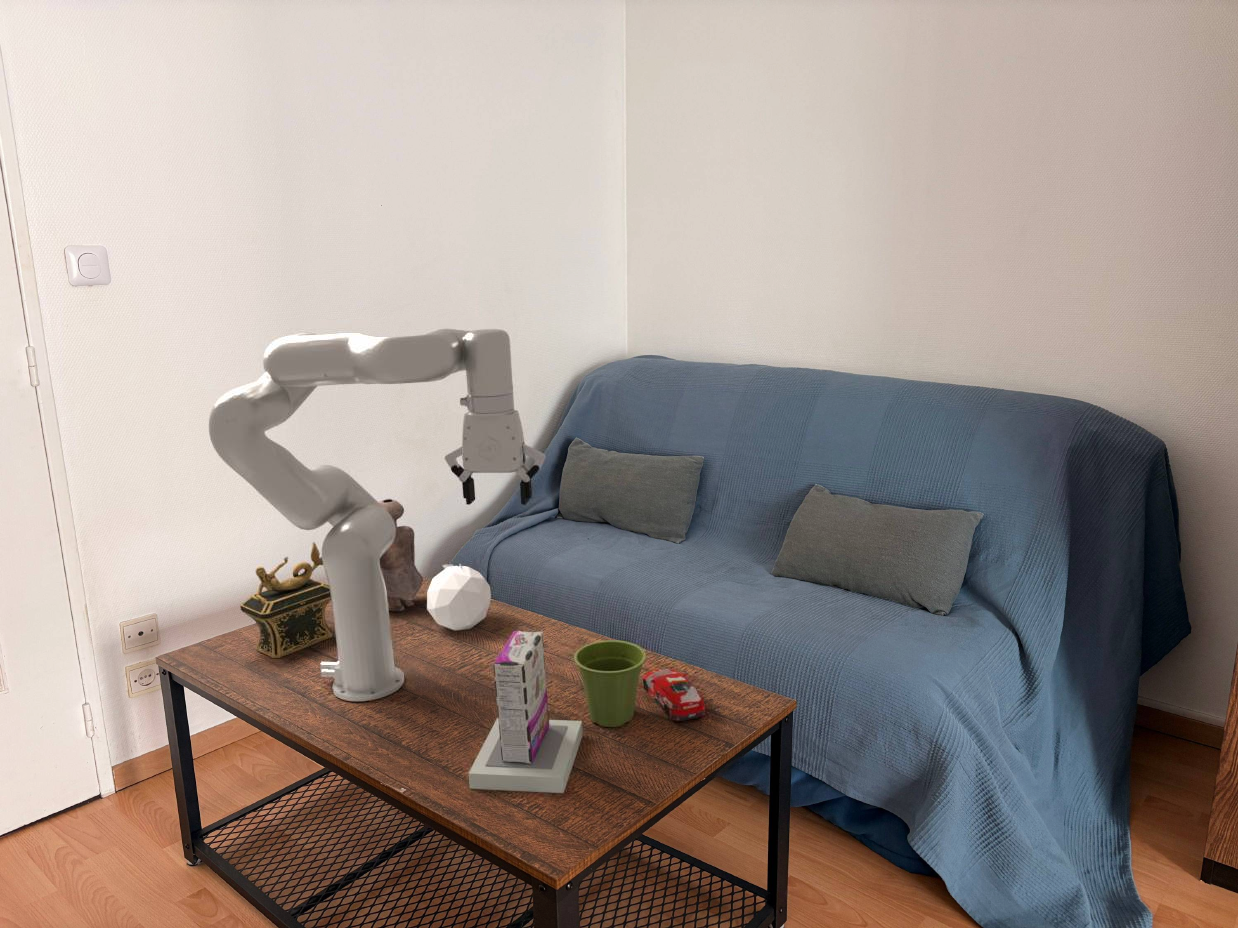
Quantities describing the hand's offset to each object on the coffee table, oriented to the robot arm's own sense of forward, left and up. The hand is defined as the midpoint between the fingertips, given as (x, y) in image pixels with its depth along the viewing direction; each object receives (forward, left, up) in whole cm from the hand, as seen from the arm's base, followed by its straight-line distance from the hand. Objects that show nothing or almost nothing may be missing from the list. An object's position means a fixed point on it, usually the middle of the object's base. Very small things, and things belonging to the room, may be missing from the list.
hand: (498, 502), depth 156 cm
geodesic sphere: (-17, +25, -34) cm, 46 cm away
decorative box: (-48, +16, -34) cm, 61 cm away
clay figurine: (-34, +34, -34) cm, 59 cm away
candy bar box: (+9, -24, -32) cm, 41 cm away
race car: (+30, -4, -35) cm, 46 cm away
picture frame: (+9, -24, -34) cm, 43 cm away
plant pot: (+20, -10, -34) cm, 41 cm away
